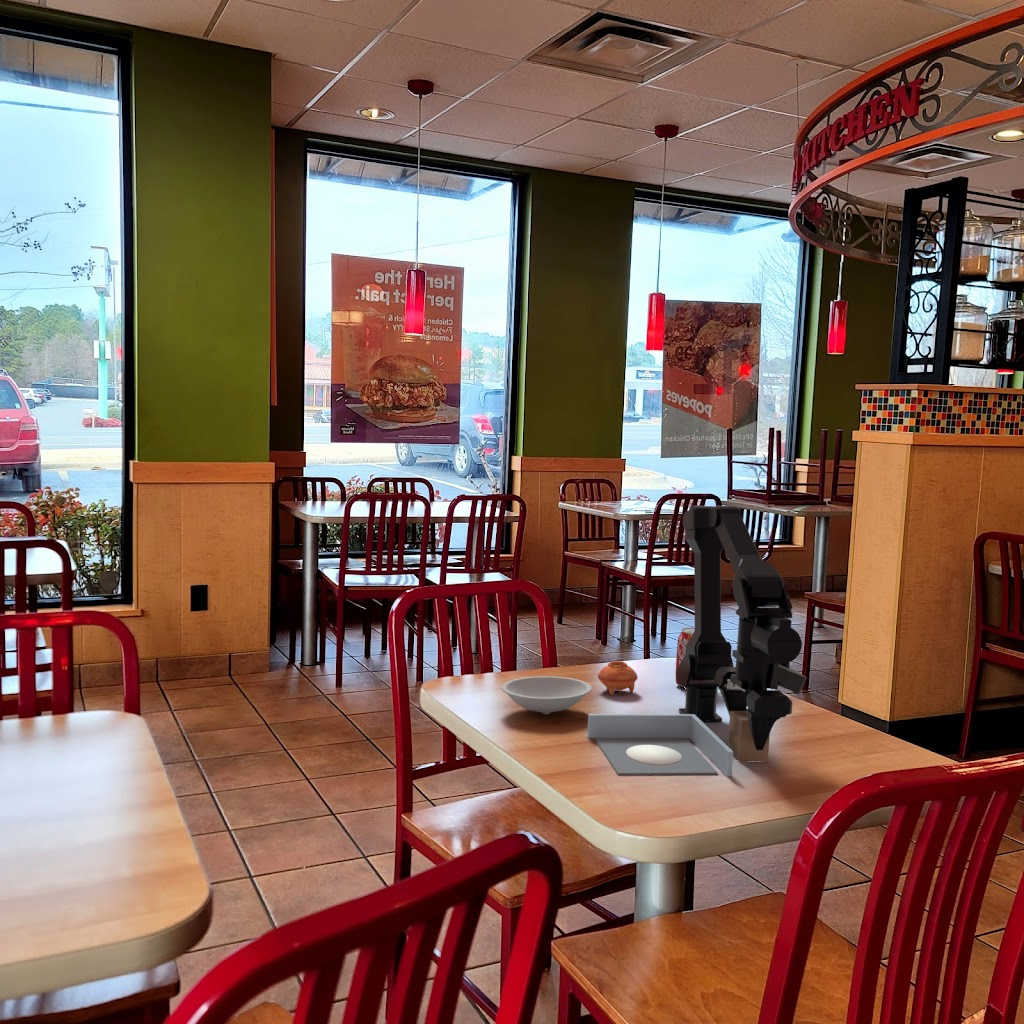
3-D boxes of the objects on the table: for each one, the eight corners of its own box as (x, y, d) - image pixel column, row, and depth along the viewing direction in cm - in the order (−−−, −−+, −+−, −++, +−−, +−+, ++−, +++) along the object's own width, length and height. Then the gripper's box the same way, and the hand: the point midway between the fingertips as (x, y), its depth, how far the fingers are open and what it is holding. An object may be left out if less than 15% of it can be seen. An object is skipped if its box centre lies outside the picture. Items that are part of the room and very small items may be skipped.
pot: (633, 699, 188) (627, 665, 188) (596, 702, 191) (590, 668, 191) (645, 688, 195) (639, 655, 195) (609, 691, 198) (603, 659, 198)
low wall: (587, 736, 165) (588, 713, 165) (692, 736, 168) (694, 714, 167) (613, 777, 146) (614, 752, 146) (731, 776, 149) (733, 751, 149)
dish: (526, 730, 166) (527, 702, 166) (485, 708, 179) (486, 681, 178) (607, 718, 176) (608, 691, 175) (562, 697, 188) (564, 672, 187)
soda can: (709, 693, 195) (712, 635, 194) (674, 689, 197) (677, 632, 196) (709, 684, 202) (712, 628, 201) (675, 681, 204) (678, 625, 203)
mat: (595, 740, 163) (595, 737, 163) (685, 740, 165) (685, 737, 165) (617, 775, 147) (618, 772, 147) (717, 774, 150) (717, 771, 150)
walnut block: (727, 751, 161) (730, 710, 160) (755, 751, 161) (758, 710, 161) (738, 762, 156) (741, 720, 155) (767, 762, 157) (770, 720, 156)
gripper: (827, 662, 149) (819, 760, 150) (778, 635, 167) (772, 722, 169) (759, 662, 147) (752, 760, 149) (717, 634, 166) (711, 722, 167)
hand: (748, 740), depth 158 cm, fingers open, 9 cm apart
